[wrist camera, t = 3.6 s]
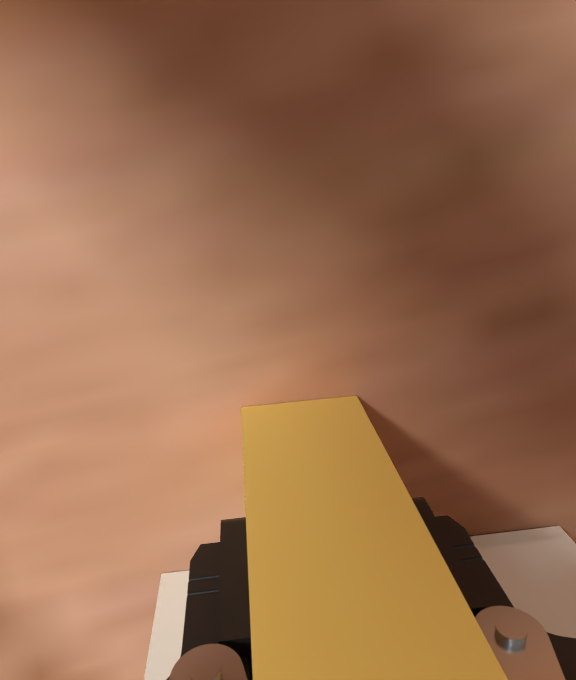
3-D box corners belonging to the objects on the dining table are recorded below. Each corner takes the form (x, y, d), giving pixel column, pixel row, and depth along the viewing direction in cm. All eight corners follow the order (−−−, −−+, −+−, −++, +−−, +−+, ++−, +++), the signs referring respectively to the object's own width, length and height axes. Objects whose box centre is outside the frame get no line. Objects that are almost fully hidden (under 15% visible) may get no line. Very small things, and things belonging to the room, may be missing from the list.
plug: (241, 407, 17) (263, 936, 5) (356, 395, 17) (611, 875, 6) (250, 506, 18) (287, 1115, 6) (359, 494, 18) (574, 1057, 7)
